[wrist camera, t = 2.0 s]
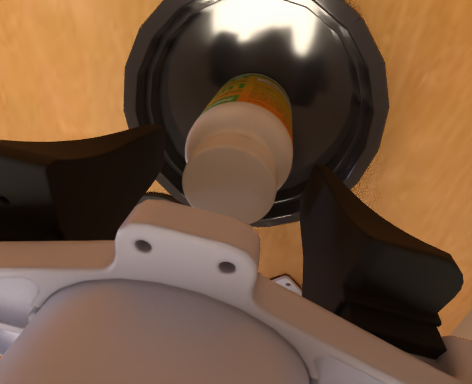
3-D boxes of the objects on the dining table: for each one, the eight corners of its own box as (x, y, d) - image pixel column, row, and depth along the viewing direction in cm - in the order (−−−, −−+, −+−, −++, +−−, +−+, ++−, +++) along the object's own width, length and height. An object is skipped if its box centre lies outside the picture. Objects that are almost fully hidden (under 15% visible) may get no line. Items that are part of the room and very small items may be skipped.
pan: (414, 137, 19) (433, 158, 17) (236, 228, 26) (230, 254, 24) (284, -114, 14) (283, -140, 11) (102, 88, 21) (75, 101, 18)
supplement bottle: (248, 52, 18) (215, 96, 10) (308, 110, 19) (324, 190, 11) (199, 115, 20) (141, 190, 12) (255, 162, 22) (236, 256, 14)
